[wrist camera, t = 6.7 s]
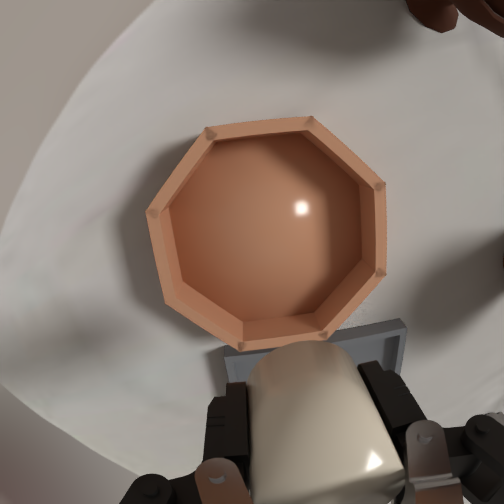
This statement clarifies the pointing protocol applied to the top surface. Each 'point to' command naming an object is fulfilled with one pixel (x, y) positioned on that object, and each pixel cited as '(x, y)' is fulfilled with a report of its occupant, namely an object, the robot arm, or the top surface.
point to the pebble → (317, 431)
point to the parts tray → (351, 340)
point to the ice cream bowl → (445, 13)
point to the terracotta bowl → (269, 232)
